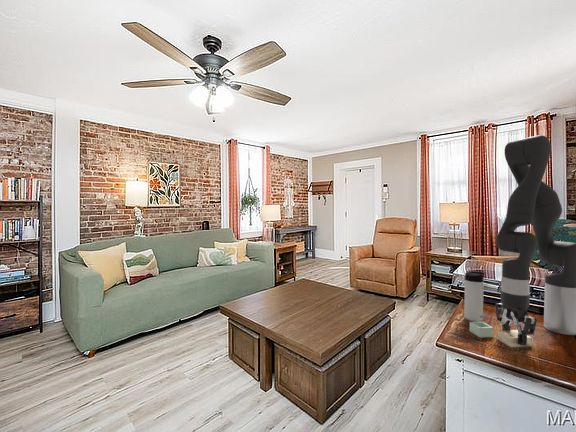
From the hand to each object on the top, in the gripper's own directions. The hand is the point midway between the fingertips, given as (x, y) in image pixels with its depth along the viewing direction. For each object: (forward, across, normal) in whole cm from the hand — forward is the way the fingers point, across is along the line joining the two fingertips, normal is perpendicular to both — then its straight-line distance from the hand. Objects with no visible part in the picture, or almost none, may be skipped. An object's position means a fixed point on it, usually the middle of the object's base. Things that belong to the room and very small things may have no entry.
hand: (513, 339), depth 93 cm
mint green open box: (+2, +6, +6) cm, 9 cm away
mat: (+1, 0, 0) cm, 1 cm away
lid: (+1, 0, 0) cm, 1 cm away
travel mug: (+2, +19, 0) cm, 19 cm away
